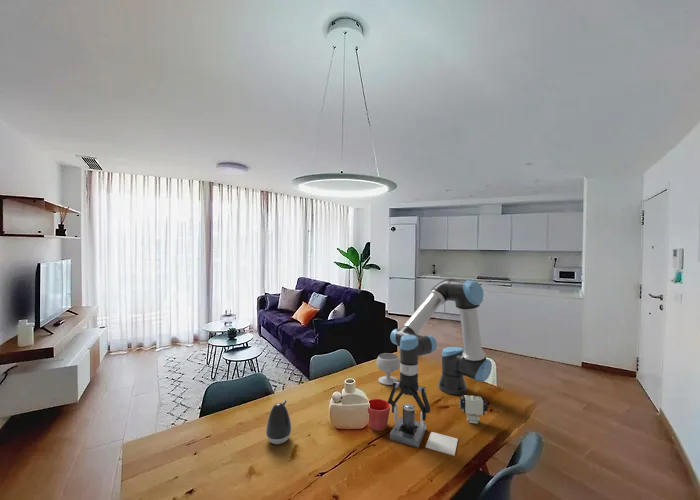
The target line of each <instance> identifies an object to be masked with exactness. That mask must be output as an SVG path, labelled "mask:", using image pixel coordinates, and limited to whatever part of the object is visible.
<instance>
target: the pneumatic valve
mask: <svg viewBox="0 0 700 500" xmlns="http://www.w3.org/2000/svg"><path fill="white" fill-rule="evenodd" d="M458 404H459V405H458V406H459V409H460V410H462V411H463V412H462V413H463V414H466V421H468V424H469V423H470V424H475V425H478V424H479V422H480V421H481V420H480V418H481V417H480V416H485V414H486V413H487V412H488V411H489V404H488V401H487V400H485V399H484V398H483V396H478V395H477V396H476V395H471V394H470V395H466V394H465V395H464V394H461V398H459V402H458Z"/></svg>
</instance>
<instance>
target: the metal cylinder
mask: <svg viewBox="0 0 700 500" xmlns="http://www.w3.org/2000/svg"><path fill="white" fill-rule="evenodd" d="M415 411H416V408H415V405H414V404H412V403H408V402H407V403H404V404H402V418H403V429H402V432H405V433H409V434H412V435H415V432H416V431H415V421H416V420H415V418H416V415H415V414H416V413H415Z"/></svg>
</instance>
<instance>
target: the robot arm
mask: <svg viewBox="0 0 700 500" xmlns="http://www.w3.org/2000/svg"><path fill="white" fill-rule="evenodd" d="M427 295H428V296H427V297H426V298H425V299H424V300H423V302H422V303H421V304H420V305H419V306H418V307H417V308H416V310H415V311H414V312H413V313H412V315H411V316H410V317H409V318H408V319H407V320H406V322H405V323H404V324H403V325H402V327H400V328H394V329H393V330H392V331H391V333H390V337H389V338H390V341H391V343H392V344H394V345H396V346H398V347H399V355H400V358H399V360H400V367H399V371H400V372H399V381H398V382H397V381H394V382H393V385H392V388H391V391H390V393H389V397H388V400H387V402H388V404H390V406H391V413H393V422H394V423H396V422H397V421H398V413H399V412H398V410H399V409H398V406H399V405H398V401H399V399H400V398H401V397H402V395H403V394H404V395H405V396H407V395H409V396H412V397H413V399H414V400H415V402H416V403H417V405H418V407H419V409H420V411H421V412H420V418H419V419H420V421H419V422H420V429H422V428H423V426H424V423H425V421H426V419H427V414H430V412H431V406H430V402H429V400H428V396H427V393H426V387H425V386H419V383H418V382H419V373H418V372H419V357H421V356H425V355H428V354H431V353H433V352H435V351H436V350H437V348H438V347H437V346H438V343H437V340H436V338H435V337H434V336H433V335H430V334H426V335H424V336H423V335H419V334H418V333H420V330H422V328H423V327H424V326H425V324H426V323H427V322H428V321H429V319H430V318H431V317H432V316H433V315H434V313H435V312H436V311H437V310H438V308H439V307H440V306H443V305H444V304H445V303H446V302H448V301H451V302H454V303H455V307H456V309H457V310H458V311H459V317H460V324H461V325H460V326H461V333H462V341H463V347H460V346H448V347H444V348H443V349H442V353H441V375H440V378H439V382H438V389H439V390H441V392H443V393H446V394H449V395H453V396H454V395H457V396H460V395H461V396H462V395H464V394H466V393H467V390H468V386H467V383H466V380H465V377H468V378H471V379H473V380H475V381H478V382H486V381H487V380H488V379H489V377H490V375H491V373H492V368H493V364H492V361H491V360H489V359H487V356H486V355H487V354H486V352H485V351H483V349H482V348H483V347H482V341H481V340H482V339H481V332H480V331H481V330H480V323H479V316H478V315H479V314H478V309H479V307H480V305H481V304H482V303H483V302H484V301H483V300H484V289H483V287H482V286H481V283H479V282H478V281H475V280H470V279H457V278H456V279H455V278H447V279H444V280H441V281H439V283H437V284H435V285H434V286H433V287H432V288H431V289H430V290H429V291H428V294H427ZM398 387H399V388H400V391H399V394H397V396H396V397H395V399H394V395H395V393H396V391H397V388H398ZM418 391H419V392H418ZM419 393H421V394H420V395H421V397H420V396H419ZM421 398H422V399H421Z"/></svg>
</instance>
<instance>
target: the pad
mask: <svg viewBox="0 0 700 500" xmlns="http://www.w3.org/2000/svg"><path fill="white" fill-rule="evenodd" d="M427 439H428V440H427V441H426V445H425V448H426V449H429V450H433V451H436V452H440V453H443V454H446V455H450V456H454V457H455V455H456V452H457V451H456V450H457V445H458V441H459V439H458V438H457V437H453V436H448V435H446V434H445V435H444V434H441V433H439V432H433V431H431V432H430V434H429V437H428V438H427Z"/></svg>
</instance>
